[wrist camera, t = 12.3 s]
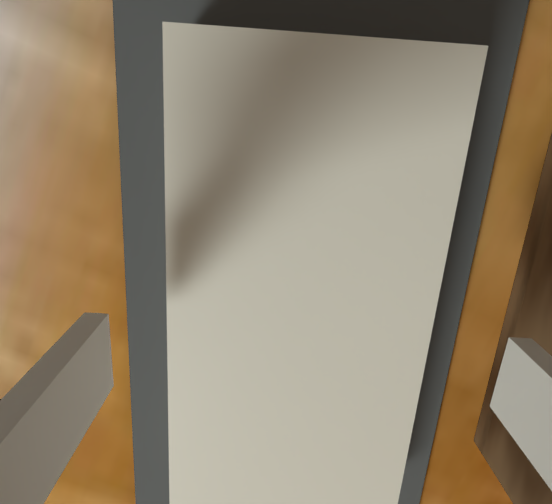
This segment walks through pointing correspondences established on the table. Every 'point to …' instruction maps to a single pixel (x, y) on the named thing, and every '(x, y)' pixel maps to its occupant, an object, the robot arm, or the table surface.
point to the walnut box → (523, 324)
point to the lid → (304, 254)
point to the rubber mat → (151, 182)
